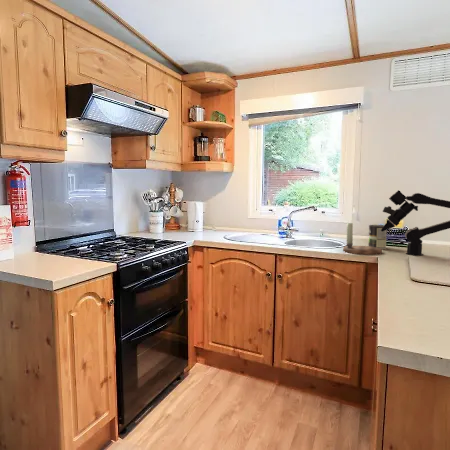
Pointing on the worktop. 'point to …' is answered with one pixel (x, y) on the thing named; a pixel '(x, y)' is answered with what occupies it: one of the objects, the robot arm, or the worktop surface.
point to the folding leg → (350, 233)
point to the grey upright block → (377, 236)
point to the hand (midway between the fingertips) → (381, 231)
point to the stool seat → (362, 250)
